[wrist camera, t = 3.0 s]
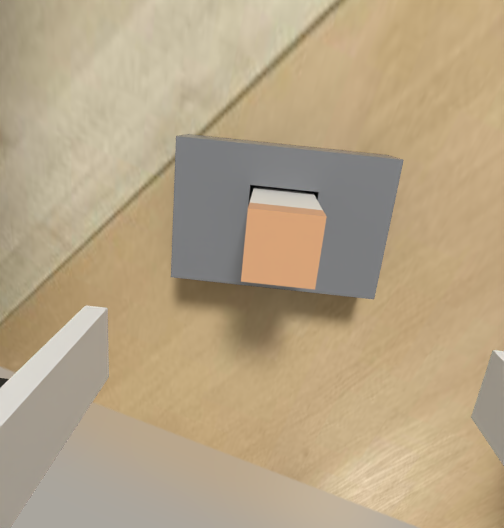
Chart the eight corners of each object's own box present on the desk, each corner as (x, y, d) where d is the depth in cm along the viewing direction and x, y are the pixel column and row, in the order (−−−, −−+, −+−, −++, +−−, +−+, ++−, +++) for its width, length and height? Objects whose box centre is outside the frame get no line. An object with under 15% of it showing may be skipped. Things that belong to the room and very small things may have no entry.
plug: (250, 235, 39) (240, 281, 28) (255, 182, 38) (247, 208, 26) (302, 241, 39) (314, 289, 28) (310, 188, 38) (326, 216, 26)
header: (182, 259, 42) (171, 277, 37) (188, 134, 38) (176, 136, 33) (362, 279, 41) (374, 299, 37) (387, 154, 37) (403, 159, 33)
